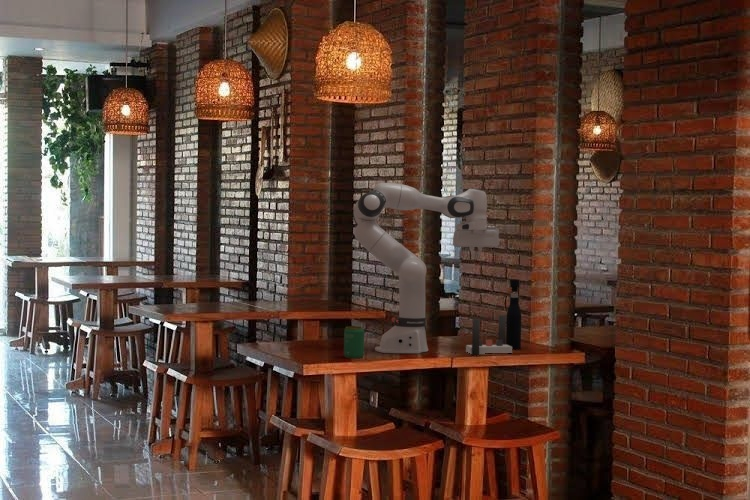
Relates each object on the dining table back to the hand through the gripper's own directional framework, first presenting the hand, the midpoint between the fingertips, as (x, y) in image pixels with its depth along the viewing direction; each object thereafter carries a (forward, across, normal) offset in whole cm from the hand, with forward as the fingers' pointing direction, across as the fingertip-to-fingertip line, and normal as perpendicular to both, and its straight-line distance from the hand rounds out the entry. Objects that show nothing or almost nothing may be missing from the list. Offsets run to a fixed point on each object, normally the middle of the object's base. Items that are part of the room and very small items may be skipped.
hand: (475, 257), depth 460 cm
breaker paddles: (+36, -1, +18) cm, 40 cm away
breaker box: (+39, -1, +18) cm, 43 cm away
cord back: (+39, -9, +11) cm, 42 cm away
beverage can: (+39, +58, +24) cm, 74 cm away
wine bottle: (+39, -16, +6) cm, 43 cm away
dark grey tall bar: (+39, +7, +24) cm, 47 cm away
